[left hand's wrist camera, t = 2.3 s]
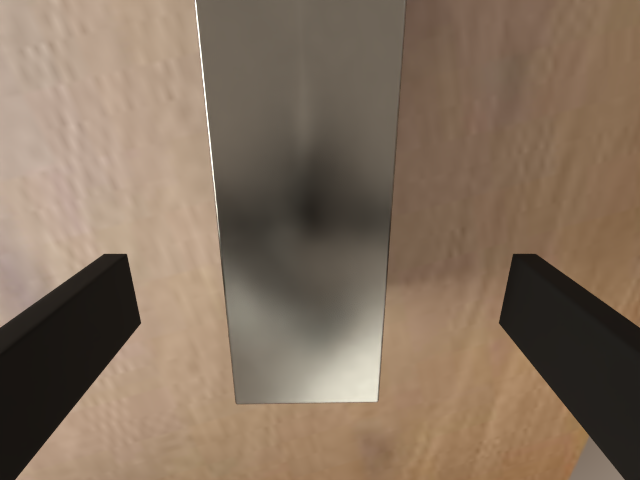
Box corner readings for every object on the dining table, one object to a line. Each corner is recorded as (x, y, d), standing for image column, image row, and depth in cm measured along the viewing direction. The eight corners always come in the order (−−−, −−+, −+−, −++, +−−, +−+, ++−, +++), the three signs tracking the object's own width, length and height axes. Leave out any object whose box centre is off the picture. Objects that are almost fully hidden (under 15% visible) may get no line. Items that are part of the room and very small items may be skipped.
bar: (353, 289, 21) (378, 403, 13) (264, 290, 20) (235, 405, 13) (373, -264, 13) (466, -834, 5) (232, -266, 13) (105, -849, 5)
